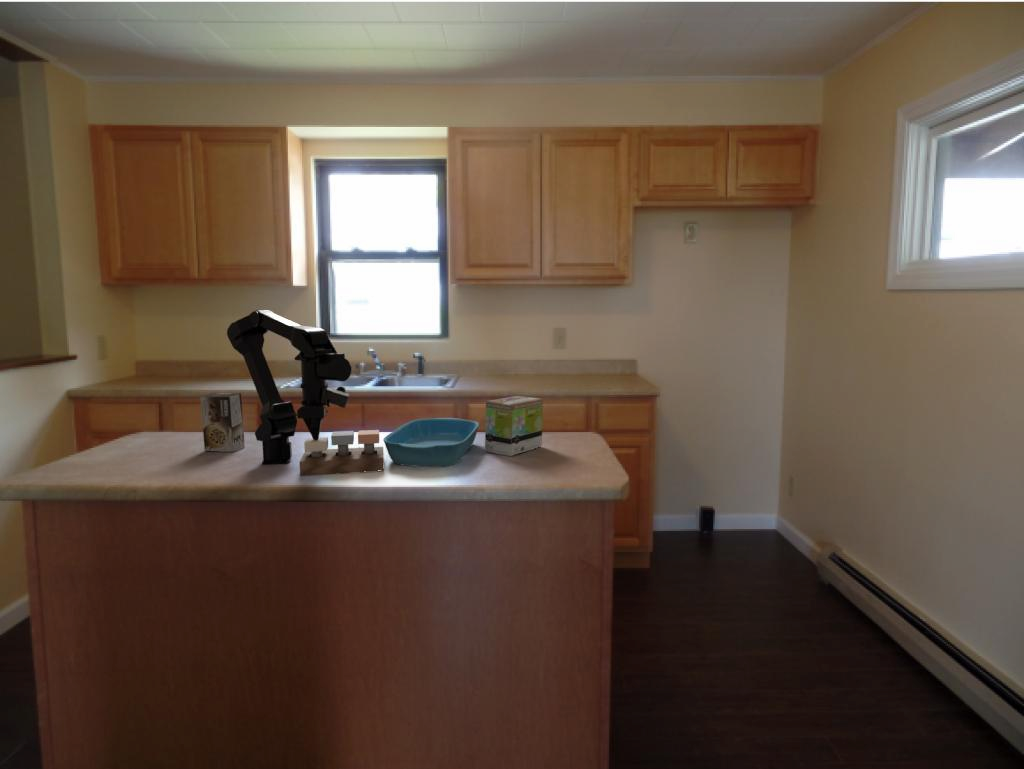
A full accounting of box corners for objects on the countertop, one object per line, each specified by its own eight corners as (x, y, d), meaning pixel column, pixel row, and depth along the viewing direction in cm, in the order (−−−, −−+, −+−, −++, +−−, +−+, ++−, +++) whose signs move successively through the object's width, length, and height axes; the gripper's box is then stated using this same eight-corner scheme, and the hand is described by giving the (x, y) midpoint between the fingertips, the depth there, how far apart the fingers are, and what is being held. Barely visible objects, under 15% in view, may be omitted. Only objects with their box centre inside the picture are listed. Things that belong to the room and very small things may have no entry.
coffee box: (245, 447, 180) (242, 392, 178) (233, 452, 173) (230, 396, 171) (216, 446, 181) (212, 392, 179) (203, 451, 174) (199, 395, 172)
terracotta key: (358, 457, 156) (357, 434, 155) (359, 452, 161) (358, 430, 160) (379, 456, 157) (378, 433, 156) (379, 451, 162) (379, 429, 161)
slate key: (332, 458, 154) (331, 435, 154) (333, 453, 159) (332, 431, 159) (353, 457, 155) (352, 435, 155) (354, 452, 161) (353, 430, 160)
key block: (300, 475, 150) (299, 461, 150) (306, 463, 162) (305, 450, 161) (383, 471, 154) (383, 457, 154) (383, 459, 166) (383, 446, 165)
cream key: (305, 465, 153) (304, 442, 153) (307, 460, 158) (306, 438, 158) (327, 464, 154) (326, 441, 154) (328, 459, 159) (327, 437, 159)
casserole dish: (459, 473, 153) (458, 445, 152) (373, 470, 156) (372, 442, 155) (484, 440, 189) (484, 418, 188) (414, 438, 192) (414, 416, 191)
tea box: (512, 457, 168) (512, 404, 166) (484, 452, 174) (484, 400, 172) (543, 447, 180) (543, 397, 178) (516, 442, 186) (516, 394, 184)
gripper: (344, 382, 146) (346, 446, 148) (348, 373, 164) (350, 431, 166) (295, 384, 144) (298, 449, 146) (305, 374, 162) (307, 432, 164)
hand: (316, 439), depth 156 cm, fingers closed, pressing on cream key
